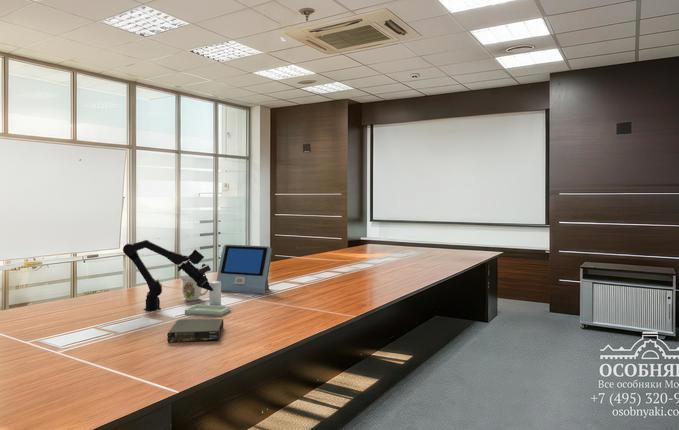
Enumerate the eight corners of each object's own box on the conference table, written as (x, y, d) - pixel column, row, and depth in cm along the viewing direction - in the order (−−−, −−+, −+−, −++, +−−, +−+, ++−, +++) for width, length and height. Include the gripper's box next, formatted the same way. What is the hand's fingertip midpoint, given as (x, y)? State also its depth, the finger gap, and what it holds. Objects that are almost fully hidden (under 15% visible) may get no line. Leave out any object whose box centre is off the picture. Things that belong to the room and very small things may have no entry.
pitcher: (205, 301, 268) (205, 278, 268) (175, 301, 268) (175, 278, 268) (211, 297, 279) (211, 275, 279) (181, 297, 279) (181, 274, 279)
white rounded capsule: (215, 307, 256) (215, 283, 255) (206, 305, 259) (206, 282, 258) (223, 304, 261) (223, 282, 261) (215, 303, 264) (215, 281, 264)
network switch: (166, 345, 190) (166, 333, 189) (171, 330, 212) (171, 319, 212) (224, 341, 196) (224, 330, 196) (223, 326, 218) (223, 316, 218)
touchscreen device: (214, 291, 298) (215, 245, 298) (229, 286, 316) (230, 243, 316) (262, 295, 288) (263, 247, 287) (276, 290, 306) (277, 245, 306)
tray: (184, 314, 239) (184, 309, 239) (195, 308, 251) (195, 304, 251) (220, 316, 236) (220, 311, 235) (230, 310, 247) (230, 306, 247)
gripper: (202, 262, 248) (223, 281, 252) (200, 257, 265) (220, 275, 270) (187, 277, 245) (209, 296, 250) (186, 272, 263) (206, 289, 267)
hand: (211, 288), depth 259 cm, fingers open, 9 cm apart
